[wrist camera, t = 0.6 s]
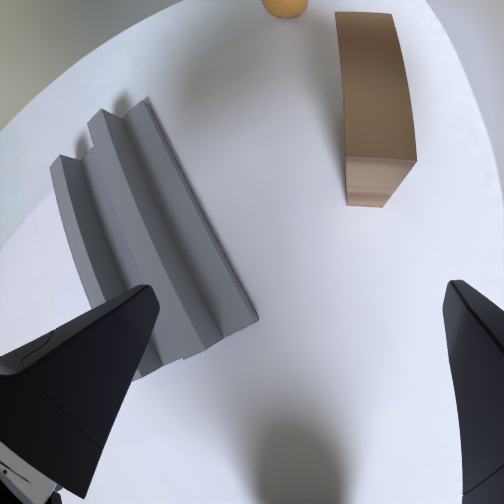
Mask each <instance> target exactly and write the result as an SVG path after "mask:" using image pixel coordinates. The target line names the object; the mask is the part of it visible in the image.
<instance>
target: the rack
mask: <svg viewBox="0 0 504 504" xmlns="http://www.w3.org/2000/svg"><path fill="white" fill-rule="evenodd" d="M87 125H88V128H89V132H90V135H91V139H92V142H93V146H94V147H93V148H92V149H91V150H90V151H89V152H88V153H87V155H86V156H85V157H84V158H83V159H82V160H81V161H80V160H77V159H74V158H70V157H67V156H63V155H59V156H58V157H57V159H56V160H55V161H54V163H53V164H52V165H51V166H50V172H51V177H52V182H53V187H54V191H55V195H56V200H57V204H58V208H59V212H60V216H61V219H62V223H63V227H64V230H65V234H66V237H67V241H68V244H69V247H70V250H71V253H72V257H73V260H74V263H75V266H76V268H77V271H78V274H79V277H80V280H81V283H82V285H83V288H84V291H85V293H86V296H87V298H88V301H89V303H90V306H91V308H92V309H93V308H95V307H97V306H99V305H101V304H103V303H105V302H106V301H108V300H110V299H112V298H114V297H116V296H118V295H120V294H122V293H124V292H126V291H127V290H129V289H131V288H133V287H135V286H137V285H140V284H148V285H151V286H152V287H153V290H154V292H155V294H156V297H157V299H158V301H159V304H160V312H159V315H158V317H157V320H156V323H155V326H154V329H153V331H152V334H151V337H150V340H149V343H148V346H147V348H146V351H145V353H144V355H143V357H142V359H141V362H140V364H139V366H138V368H137V371H136V373H135V375H134V377H133V379H132V382H133V381H135V380H138V379H140V378H142V377H144V376H146V375H148V374H150V373H152V372H153V371H155V370H157V369H159V368H161V367H162V366H164V365H167V364H169V363H171V362H174V361H176V360H178V359H180V358H183V360H184V359H187V358H189V357H191V356H193V355H196V354H198V353H200V352H202V351H204V350H206V349H208V348H209V347H211V346H212V345H214V344H216V343H217V342H219V341H220V340H222V339H223V338H225V337H227V336H229V335H231V334H233V333H235V332H237V331H239V330H241V329H243V328H246V327H248V326H250V325H251V324H253V323H255V322H257V321H258V320H259V319H258V317H257V315H256V313H255V311H254V309H253V308H252V306H251V304H250V302H249V300H248V298H247V296H246V295H245V293H244V291H243V289H242V287H241V285H240V283H239V282H238V280H237V278H236V276H235V274H234V272H233V270H232V268H231V267H230V265H229V263H228V261H227V259H226V257H225V255H224V253H223V251H222V250H221V248H220V246H219V244H218V242H217V240H216V238H215V236H214V234H213V232H212V230H211V228H210V227H209V225H208V223H207V221H206V219H205V217H204V215H203V213H202V211H201V209H200V207H199V205H198V203H197V201H196V199H195V197H194V195H193V193H192V191H191V190H190V188H189V186H188V184H187V182H186V180H185V178H184V176H183V174H182V172H181V170H180V168H179V166H178V164H177V162H176V160H175V158H174V156H173V154H172V152H171V150H170V148H169V146H168V144H167V141H166V139H165V137H164V135H163V133H162V131H161V129H160V127H159V125H158V123H157V121H156V119H155V117H154V115H153V113H152V111H151V109H150V106H149V104H147V103H146V102H144V101H143V100H142V101H141V102H140V103H139V104H138V105H137V106H135V107H134V108H133V109H132V110H131V111H130V112H129V113H128V114H127V115H126V116H124V117H123V118H122V119H121V118H119V117H117V116H115V115H113V114H111V113H109V112H107V111H105V110H103V109H100V110H99V111H98V112H97V113H96V114H95V115H94V116H93V118H92V119H91V120H90V121H89V122H88V123H87Z"/></svg>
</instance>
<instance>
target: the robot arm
mask: <svg viewBox="0 0 504 504" xmlns="http://www.w3.org/2000/svg"><path fill="white" fill-rule="evenodd" d="M159 312H160V304H159V301H158V299H157V297H156V294H155V292H154V290H153V287H152V286H151V285H148V284H140V285H137V286H135V287H133V288H131V289H129V290H127V291H126V292H124V293H122V294H120V295H118V296H116V297H114V298H112V299H110V300H108V301H106V302H105V303H103V304H101V305H99V306H97V307H95V308H93V309H91V310H89V311H88V312H86V313H84V314H82V315H80V316H78V317H76V318H75V319H73V320H71V321H69V322H67V323H65V324H63V325H62V326H60V327H58V328H56V329H55V330H52V331H50V332H49V333H47V334H45V335H43V336H41V337H39V338H37V339H35V340H33V341H31V342H29V343H27V344H25V345H23V346H21V347H19V348H17V349H15V350H13V351H11V352H9V353H7V354H5V355H3V356H0V504H62V501H61V496H60V494H59V493H58V492H56V491H55V490H54V488H55V486H56V485H57V484H58V485H60V486H61V487H63V488H65V489H66V490H68V491H70V492H71V493H73V494H75V495H77V496H78V497H80V498H82V499H84V498H85V497H86V495H87V492H88V489H89V486H90V483H91V481H92V478H93V475H94V473H95V470H96V467H97V465H98V462H99V459H100V457H101V454H102V452H103V449H104V446H105V444H106V441H107V439H108V436H109V434H110V431H111V429H112V426H113V424H114V421H115V419H116V417H117V414H118V412H119V409H120V407H121V405H122V402H123V400H124V398H125V395H126V393H127V391H128V389H129V386H130V384H131V382H132V379H133V377H134V375H135V373H136V371H137V368H138V366H139V364H140V362H141V359H142V357H143V355H144V353H145V351H146V348H147V346H148V343H149V340H150V337H151V334H152V331H153V329H154V326H155V323H156V320H157V317H158V315H159ZM443 318H444V324H445V332H446V340H447V349H448V357H449V363H450V369H451V374H452V379H453V385H454V391H455V397H456V404H457V411H458V419H459V428H460V439H461V452H462V475H463V495H464V496H463V497H462V504H504V311H503V310H502V309H501V308H499V307H498V306H497V305H495V304H494V303H493V302H492V301H490V300H489V299H488V298H486V297H485V296H484V295H482V294H481V293H480V292H478V291H477V290H476V289H474V288H473V287H471V286H470V285H469V284H467V283H466V282H465V281H463V280H450V281H449V282H448V284H447V288H446V293H445V298H444V302H443Z"/></svg>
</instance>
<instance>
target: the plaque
mask: <svg viewBox="0 0 504 504" xmlns="http://www.w3.org/2000/svg"><path fill="white" fill-rule="evenodd" d="M335 19H336V27H337V35H338V43H339V53H340V63H341V74H342V87H343V103H344V124H345V160H346V187H347V206H365V207H381V208H382V207H383V206H384V205H385V203H386V202H387V201H388V199H389V198H390V197H391V196H392V194H393V193H394V192H395V190H396V189H397V188H398V186H399V185H400V184H401V182H402V181H403V180H404V178H405V177H406V175H407V174H408V173H409V171H410V170H411V169H412V167H413V166H414V164H415V163H416V162H417V154H416V142H415V132H414V123H413V115H412V107H411V100H410V94H409V88H408V82H407V77H406V72H405V67H404V62H403V57H402V53H401V48H400V44H399V40H398V36H397V32H396V28H395V25H394V21H393V18H392V14H386V13H371V12H335Z"/></svg>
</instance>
